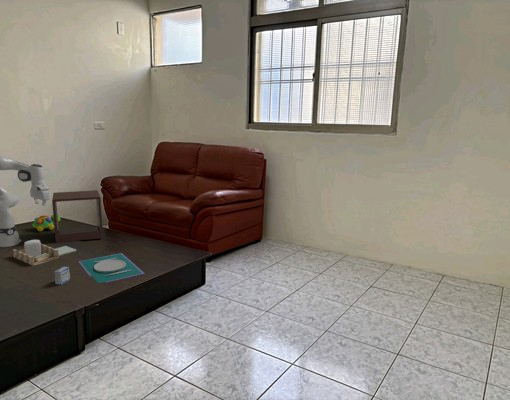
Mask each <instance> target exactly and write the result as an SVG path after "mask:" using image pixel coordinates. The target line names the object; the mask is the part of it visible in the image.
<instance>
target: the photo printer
mask: <svg viewBox="0 0 510 400" xmlns="http://www.w3.org/2000/svg"><path fill="white" fill-rule="evenodd" d="M41 244H42V243H41V240H40V239H31V240H27V241H24V244H23V246H24V247H23V248H24V250H25V254H27V255H30V256H32V257H37V256H39V255H42V254H43V253H42V252H41Z"/></svg>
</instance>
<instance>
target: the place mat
mask: <svg viewBox="0 0 510 400" xmlns="http://www.w3.org/2000/svg"><path fill="white" fill-rule="evenodd" d="M77 262H78V263H79V265H80V266H81V267H82V268H83V270H84V271H85V273H87V275H88V276H90V277H92V278H93V279H94V280H95V281H96V282H97V283H99V284H100V283H109V282H115V281H119V280H125V279H129V278H134V277H138V276H143V275H146V273H145V272H144V271H143V270H142V269H140V268H139V267H138V265H136V264H135V263H134V262H132V261H131V259H129V258H128V257H127V256H126V255H125V254H123V253H122V252H120V253H115V254H110V255H106V256H105V255H103V256H100V257H94V258H89V259H84V260H79V261H77Z"/></svg>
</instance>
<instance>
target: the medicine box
mask: <svg viewBox="0 0 510 400" xmlns="http://www.w3.org/2000/svg"><path fill="white" fill-rule="evenodd" d="M53 272H54V282H55V283H54V284H55V285H60V284H61V286H62V285H64V284H65V283H67V282H69V281H71V273H70V267H69V266H62V267H60V268H58V269H57V270H54V271H53Z"/></svg>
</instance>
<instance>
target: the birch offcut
mask: <svg viewBox="0 0 510 400" xmlns="http://www.w3.org/2000/svg"><path fill="white" fill-rule="evenodd" d="M41 254H42V255H39V256H37V257H34V261H41V260H43V259H45V258H47V257H50V254H47V253H41Z"/></svg>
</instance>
